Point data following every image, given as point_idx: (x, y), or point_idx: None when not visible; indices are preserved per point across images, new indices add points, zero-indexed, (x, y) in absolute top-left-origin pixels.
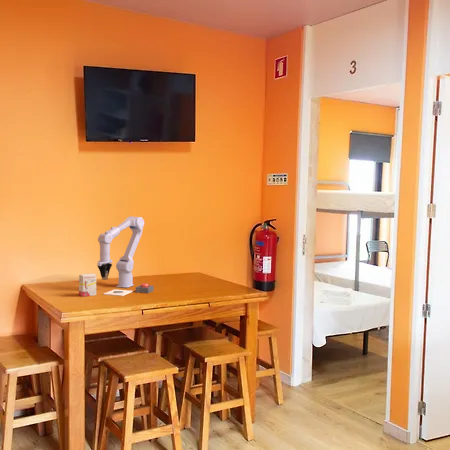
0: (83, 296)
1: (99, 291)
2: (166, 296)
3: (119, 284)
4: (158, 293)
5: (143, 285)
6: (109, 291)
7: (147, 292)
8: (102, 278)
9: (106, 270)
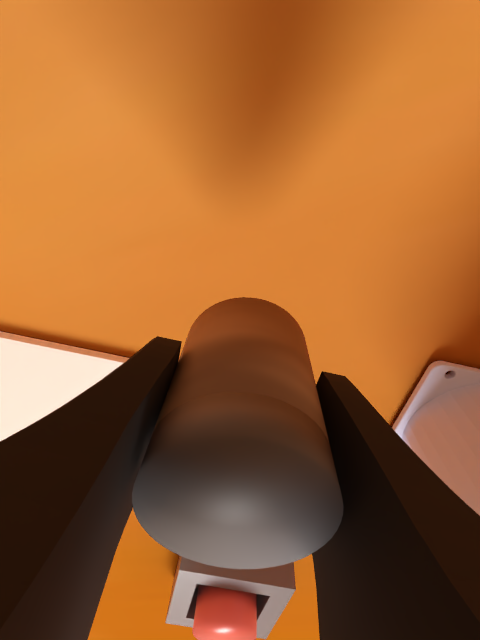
0: None
1: (128, 242)
2: (113, 635)
3: (441, 412)
4: None
5: (194, 620)
6: (110, 365)
7: (173, 581)
8: (188, 334)
9: (347, 532)
